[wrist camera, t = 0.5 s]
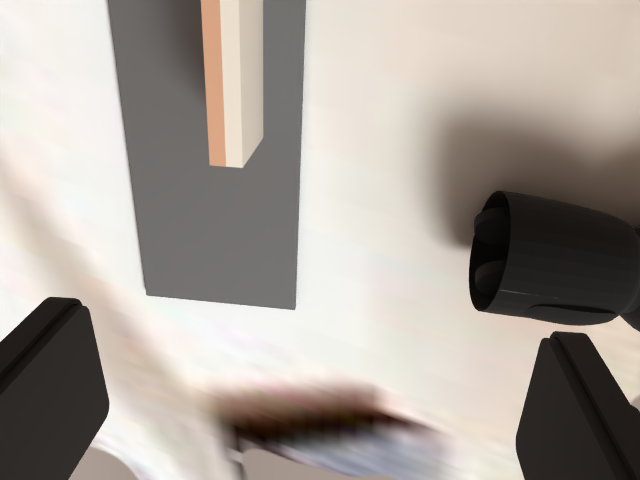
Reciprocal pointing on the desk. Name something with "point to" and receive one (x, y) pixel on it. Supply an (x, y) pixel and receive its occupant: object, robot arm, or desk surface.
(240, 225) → the mat
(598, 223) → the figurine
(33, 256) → the desk surface
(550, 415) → the robot arm
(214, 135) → the block
